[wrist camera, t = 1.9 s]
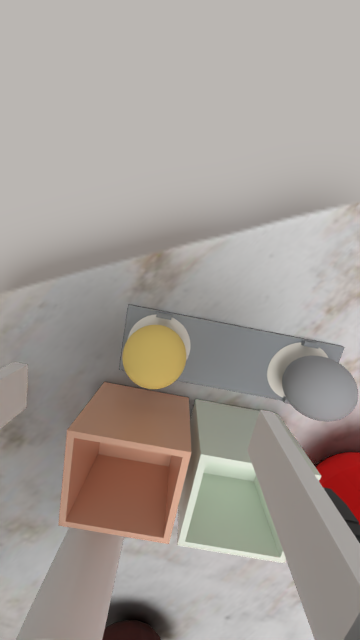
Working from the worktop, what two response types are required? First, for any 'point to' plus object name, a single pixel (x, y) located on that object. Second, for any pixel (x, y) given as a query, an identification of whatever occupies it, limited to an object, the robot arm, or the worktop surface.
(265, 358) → the slate card
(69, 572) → the mug
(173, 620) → the worktop surface
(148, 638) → the potato
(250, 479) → the sage open box
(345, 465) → the vase
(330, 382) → the ball grey
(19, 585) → the worktop surface
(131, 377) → the ball mustard
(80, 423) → the salmon open box
